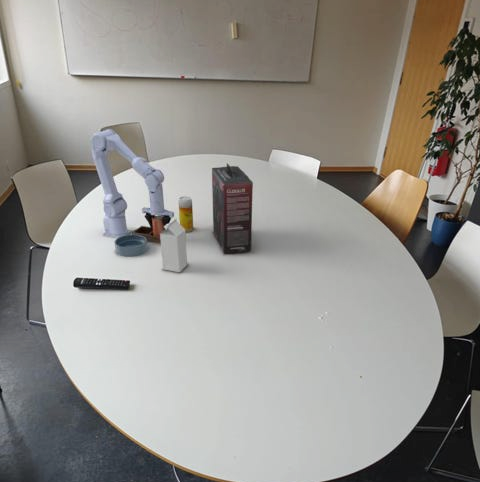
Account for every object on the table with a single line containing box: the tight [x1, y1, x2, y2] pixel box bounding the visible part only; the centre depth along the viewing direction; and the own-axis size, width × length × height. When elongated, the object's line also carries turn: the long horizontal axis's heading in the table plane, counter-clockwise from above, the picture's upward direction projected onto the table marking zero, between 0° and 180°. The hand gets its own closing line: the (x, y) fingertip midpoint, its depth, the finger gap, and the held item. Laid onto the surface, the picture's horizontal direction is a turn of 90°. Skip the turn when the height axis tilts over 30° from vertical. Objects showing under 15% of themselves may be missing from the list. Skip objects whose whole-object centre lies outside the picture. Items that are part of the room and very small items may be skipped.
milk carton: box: [160, 218, 188, 273], centre depth 165 cm, size 7×7×19 cm
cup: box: [152, 215, 164, 237], centre depth 187 cm, size 6×6×8 cm
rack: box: [131, 225, 161, 245], centre depth 191 cm, size 16×8×4 cm, turn 69°
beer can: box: [178, 196, 194, 233], centre depth 197 cm, size 6×6×15 cm
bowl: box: [114, 234, 149, 258], centre depth 180 cm, size 13×13×4 cm
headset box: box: [211, 163, 254, 254], centre depth 182 cm, size 25×12×33 cm, turn 14°
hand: (159, 230), depth 188 cm, fingers closed on cup, 6 cm apart
